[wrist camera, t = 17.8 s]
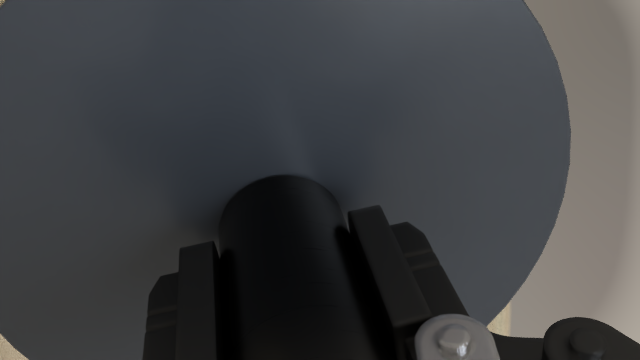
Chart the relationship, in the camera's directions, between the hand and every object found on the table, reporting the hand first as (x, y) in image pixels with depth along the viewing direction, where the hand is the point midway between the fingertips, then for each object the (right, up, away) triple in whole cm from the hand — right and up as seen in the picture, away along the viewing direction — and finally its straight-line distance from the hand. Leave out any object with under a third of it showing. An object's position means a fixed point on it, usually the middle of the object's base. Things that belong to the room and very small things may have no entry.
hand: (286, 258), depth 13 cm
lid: (0, +1, +1) cm, 2 cm away
